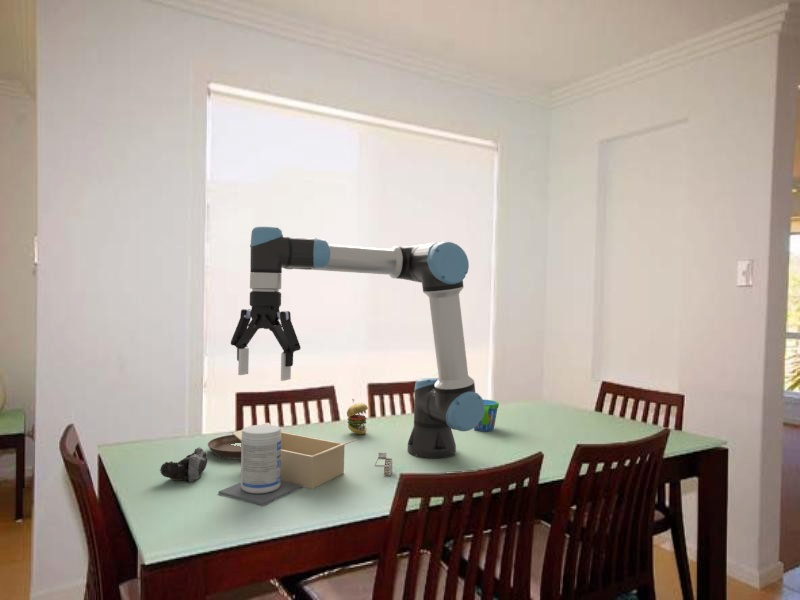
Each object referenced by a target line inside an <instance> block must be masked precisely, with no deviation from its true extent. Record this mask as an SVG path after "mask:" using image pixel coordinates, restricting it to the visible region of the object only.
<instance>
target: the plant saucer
mask: <svg viewBox="0 0 800 600" xmlns="http://www.w3.org/2000/svg"><path fill="white" fill-rule="evenodd" d="M235 443H241V441H240V440H239V439H238V438H237V437H236V436H234V435H233V434H229V435H224V436H218V437H215V438H213V439H211V440H210V441H208V443H207V446H208V449H209V450H210V451H211V452H212V453H213V454H214V455H215V456H217V457H219V456H220V458H222V457H223V458H222V459H228V458H229V460H241V447H240V446H237V445H236V446H234V445H231V444H235Z"/></svg>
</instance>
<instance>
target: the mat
mask: <svg viewBox="0 0 800 600" xmlns="http://www.w3.org/2000/svg"><path fill="white" fill-rule="evenodd" d="M301 488H302V486H301V485H298V484H294V483H290V482H286V481H282V480H281V483H280V486H279V488H278V489H276V490H274V491H272V492H268V493H261V494H253V493H248V492H246V491H244V490H243V489H242V488H241V482H238V483H236V484H233V485H231V486H228V487H225V488H224V489H220V490H219V491H218V495H222V496H225V497H228V498H233V499H236V500H239V501H244V502H248V503H250V504H251V503H252V504H254V505H257V506H262V507H263V506H266V505H268V504H270V503H272V502H274V501H276V500H279V499H280V498H283V497H285V496H286V495H289V494H290V493H293V492H296V491H298V490H300V489H301Z"/></svg>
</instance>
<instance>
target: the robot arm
mask: <svg viewBox="0 0 800 600" xmlns="http://www.w3.org/2000/svg"><path fill="white" fill-rule="evenodd" d="M250 234H251V235H250V245H249V247H250V266H249V267H250V270H249V271H250V273H249V288H250V289H251V291H250V292H249V306H250V307H251V309H250V308H245V309H244V308H243V309H241V310H240V318H239V320H238V323H237V326H236V327H235V331H234V333H233V335H232V336H231V337H232V338H231V341H230V345H231V346H234V347H235V348H236V350H237V351H236V360H237V362H238V368H237V369H238V370H237V371H238V374H237V375H238V376H244V375H248V374H249V355H250V350H249V349H250V348H249V347H248V345H249V343H250V341H251V340H252V339H253V337H254V336H255V335H256V334H257V332H258V330H260V329H264V330H269V331H271V332H272V334H273V335H274V337H275V339H276V340H277V342H278V344H279V345H280V346H279V347H280V348H281V349H282V352H281V355H280V381H283V382H284V381H287V380H291V378H292V377H291V376H292V374H291V373H292V371H291V370H292V369H291V368H292V367H293V365H294V353H295V352H297V351H300V350H301V348H302V347H301V345H300V341H299V339H298V336H297V334H296V331H295V328H294V325H293V323H292V318H291V316H292V315H291V312H290V311H289V310H287V311H286V310H284V311H281V310H280V308H281V305H282V292H281V291H280V290H282V273H283V271H282V269H285V270H303V271H304V270H306V271H308V270H309V271H310V270H311V271H325V272H339V273H340V272H341V273H342V272H343V273H355V274H356V273H358V274H372V275H373V274H374V275H388V276H389V277H390V278H392V279H397V280H398V279H400V280H406V281H412V282H415V283H421V286H422V292H423V293H424V295H426V296H427V297H428V301H429V306H430V316H431V317H430V318H431V324H432V334H433V341H434V349H435V350H434V351H435V358H436V366H437V375H438V377H427V378H419V379H417V380H416V381H415V383H414V384H415V385H414V390H413V392H414V403H413V404H414V405H413V406H414V408H413V427H412V430H411V433H410V436H409V438H408V442H407V453H409V454H411V455H412V456H415V457H419V458H427V459H444V458H443V457H445V458H449V456H450V457H452V455H453V456H455V455H456V453H457V446H456V440H455V438H454V437H455V436H454V434H453V431H452V430H454V431H459V432H468V431H471V430H473V429H474V427H476V426H477V425H478V424H479V421H480V420H481V419H482V417H483V415H484V410H485V406H484V401H483V400H484V399H483V398H482V396H480V395H481V394H479V393H478V392H476V386H475V385H476V384H475V379H474V378H472V377H471V376H470V375H469V371H468V362H467V361H468V360H467V352H466V345H465V344H466V343H465V335H464V327H463V318H462V317H463V315H462V309H461V301H460V293H461V291H462V290H463V289H464V288H465V287H464V279H465V278H466V275H467V274H468V272H469V267H470V266H469V265H470V264H469V259H468V256H467V254H466V252H465V250H464V249H463V248H462V247H461V246H460V245H458V244H457V243H454V242H452V241H451V242H450V241H438V242H437V241H436V242H430V243H422V244H417V245H409V246H399V245H398V246H397V245H394V246H393V247H391V248H380V247H379V248H377V247H365V246H356V245H355V246H354V245H342V244H333V243H331V244H329V241H327V240H326V239H320V238H317V237H315V238H309V237H308V238H307V237H289V236H286V235H285V236H284V234H283V230H282V228H280V227H276V226H275V227H273V226H255V227H254V228H253V229H252V230H251V233H250Z"/></svg>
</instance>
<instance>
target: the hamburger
mask: <svg viewBox="0 0 800 600" xmlns="http://www.w3.org/2000/svg"><path fill="white" fill-rule="evenodd" d="M351 400H352V403H353V404H352V405H351V406H350V407H348V409H347V411H346V416H347V425H348V426H347V427H348V429H349V430H350V431H351V432H352V433H354V434H356V435H365V434H366V432H367V431H368V430H367V429H368V428H367V427H366V424H367V418H368V417H366V416H365V415H366V414H367V410H368V406H367V404H365V402H364V403H363V402H358V403H354V402H355V399H354V398H352V399H351ZM364 414H365V415H364Z"/></svg>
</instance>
